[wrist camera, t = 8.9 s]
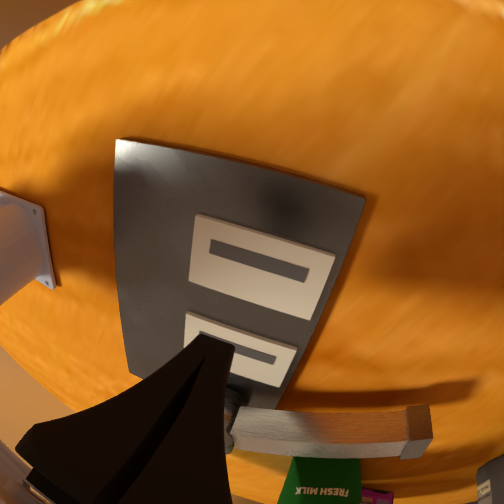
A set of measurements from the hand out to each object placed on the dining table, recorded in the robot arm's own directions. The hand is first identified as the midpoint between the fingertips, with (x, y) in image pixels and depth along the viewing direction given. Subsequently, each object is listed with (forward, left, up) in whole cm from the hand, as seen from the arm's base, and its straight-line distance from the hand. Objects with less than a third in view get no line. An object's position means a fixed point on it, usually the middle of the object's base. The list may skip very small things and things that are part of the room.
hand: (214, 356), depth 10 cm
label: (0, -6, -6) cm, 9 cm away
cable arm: (+6, -10, -6) cm, 13 cm away
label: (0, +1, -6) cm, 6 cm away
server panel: (-2, -4, -6) cm, 8 cm away
